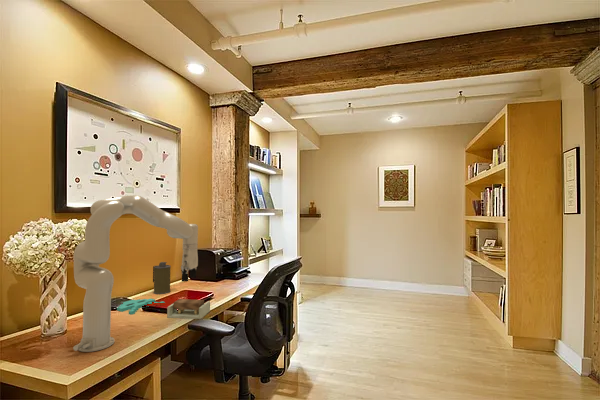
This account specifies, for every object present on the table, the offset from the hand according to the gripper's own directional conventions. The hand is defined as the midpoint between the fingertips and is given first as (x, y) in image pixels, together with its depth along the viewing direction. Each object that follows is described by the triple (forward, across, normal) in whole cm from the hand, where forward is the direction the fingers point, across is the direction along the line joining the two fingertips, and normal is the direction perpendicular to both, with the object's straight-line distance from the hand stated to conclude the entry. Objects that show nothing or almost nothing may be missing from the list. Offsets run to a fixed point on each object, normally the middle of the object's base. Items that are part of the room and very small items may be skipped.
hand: (189, 279), depth 165 cm
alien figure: (+19, +11, +34) cm, 41 cm away
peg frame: (+18, +1, 0) cm, 19 cm away
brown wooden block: (+15, 0, 0) cm, 15 cm away
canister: (+18, +42, +38) cm, 59 cm away
